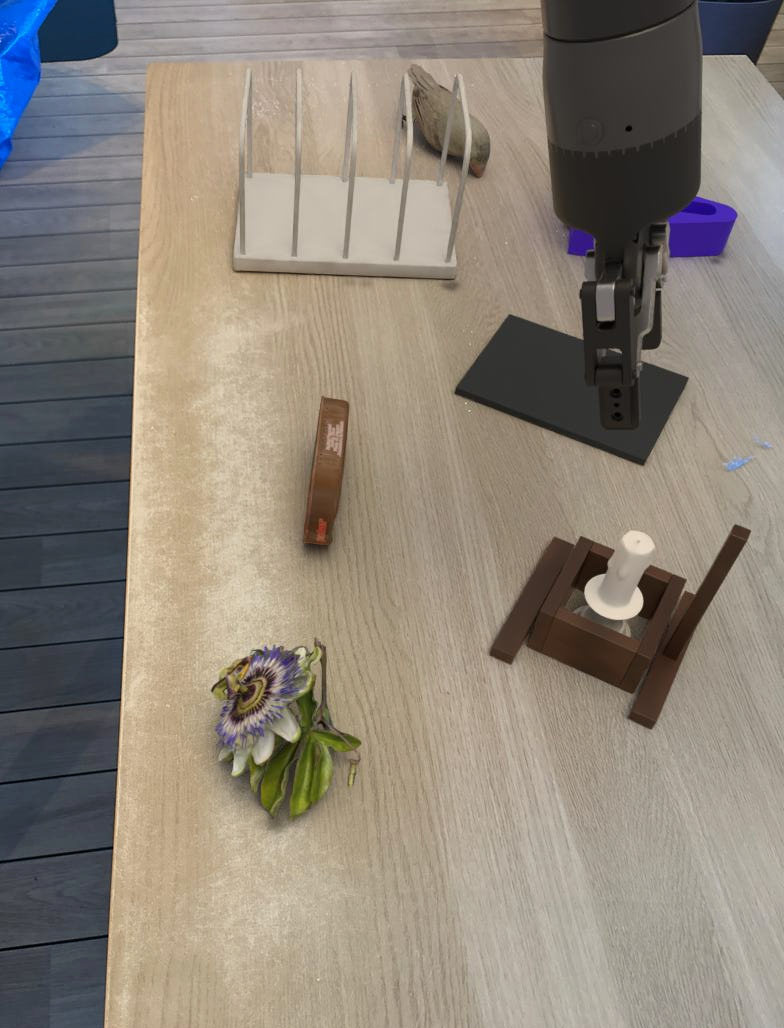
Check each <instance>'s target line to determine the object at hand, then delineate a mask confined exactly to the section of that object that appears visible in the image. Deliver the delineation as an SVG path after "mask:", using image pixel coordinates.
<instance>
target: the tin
mask: <svg viewBox="0 0 784 1028" xmlns="http://www.w3.org/2000/svg"><path fill="white" fill-rule="evenodd" d="M349 417H350V403H349V401H348V400H345V399H339V398H334V397H333V398H332V397H326V396H324V395H321V398H320V403H319V412H318V417H317V426H316V427H317V428H316V433H315V439H314V446H313V451H312V452H313V454H312V459H311V460H312V461H311V470H310V476H309V485H308V495H307V501H306V510H305V517H304V525H303V535H302V543H303V544H314V545H321V546H330V545H332V544H333V541H334V537H333V534H334V533H333V531H334V525H335V521H336V518H337V515H338V513H339V509H340V508H339V506H340V502H341V495H342V486H343V478H344V470H345V461H346V451H347V443H348V433H349V432H348V431H349Z"/></svg>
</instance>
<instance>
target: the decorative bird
mask: <svg viewBox="0 0 784 1028" xmlns="http://www.w3.org/2000/svg"><path fill="white" fill-rule="evenodd" d="M409 66H410V67H409V68H407V70H406V74H408V75H409V79H410V80H411V82H412V83H413V85H414V87H413V89H412V92H411V110H412V118H414V119H413V120H412V122H413V124H414V123H415V121H416V122H417V124H418V127H419V129H420V131H421V132H422V134H423V136H424V137H425V139H426V141H427V142H428V143H429V144H430V145H431V147H432V148H434V149H435V150H436V151H439V152H441V153H442V151H443V144H444V138H445V132H446V126H447V120H448V114H449V107H450V101H451V95H452V90H449V88H446V87H445V86H443V85H441V84H439V83H438V82H437V81H436V80H435V78H434V77H433V76H432V75H431V74H430V73H429V72H427V71H426V70H425V69H424V68H423V67H422V66H421V65H418V64H417V63H412V64H410V65H409ZM469 118H470V124H471V131H472V143H471V155H470V162H469V167H470V168H471V169H472V171H473V172H474V174H475V175H476V177H478V178H481V177H482V176H483V174H484V173H485V170H486V168H487V165H488V162H489V158H490V155H491V137H490V134H489V132H488V130H487V128H486V126H485V125H484V124H483V123H482V122H481V121H480V120H479V119H478V118H476V117H475V116H474V115H472V114H471V113H469ZM404 122H406V115H404V114H403V116H402V124H401V130H403V128H404ZM464 153H465V128H464V122H463V114H462V106H461V100H460V99H459V98H458V97H456V103H455V109H454V115H453V121H452V127H451V133H450V139H449V145H448V151H447V155H450V156H453V157H463V158H464Z"/></svg>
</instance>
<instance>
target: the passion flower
mask: <svg viewBox="0 0 784 1028" xmlns="http://www.w3.org/2000/svg"><path fill="white" fill-rule="evenodd" d="M313 639H314V642H313V645H314V649H313V651H312V652H310V651H309V649H308V646H306V645H299V646H295V647H294V648H292V649H291V650H288V649H286V650H285V646H284V645H279V646H277V645H276V644H273V645H272V649H268V647H267V645H264V646H263V647H264V648H263V649H261V648H255V649H251V650H250V653H249V655H247V656H245V657H242V658H238V659H235V660H234V661H233V662H232V663H230V665H229V666H227V667H223V668H222V669H221V670H220V673H219V676H218V681H217V682H216V683H214V684H213V685H212V687H211V689H210V692H211V694H212V696H213V697H214V698H215V699H216V700H218V701H220V702H222V701H226V702H225V705H224V706H222V708H221V710H222V711H221V713H220V714H219V717H221V718H222V720H221V721H219V723H218V724H217V725H216V726H215V732H216V733H217V735H219V736H220V737H221V739H220V740H219V742H217V744H216V745H215V749H218V748H219V746H220V749H221V750H220V752H219V756H218V761H219V762H221V763H226V764H229V763H232V769H231V770H232V771H231V773H230V775H231V777H233V778H236V777H237V778H238V777H239V776H242V775H244V774H245V773H247V772H250V773H249V776H250V777H249V786H250V788H251V791H252V792H253V793H254V794H257V792H258V787H259V784H260V797H259V799H260V802H261V805H262V808H264V809H265V810H267V811H268V812H269V813H270V815H271V817H273V818H276V817H277V814H278V810H279V809H280V807H281V806H282V804H283V802H284V800H285V798H286V793H287V787H288V782H289V778H290V769H291V767H292V765H293V764H294V762H295V761H296V767H295V769H294V770H295V772H294V775H293V784H292V785H293V786H292V794H291V796H290V797H289V810H288V811H289V817H288V818H289V821H290V822H292V821H294V820H295V819H296V818H298V817H300V816H302V815H305V814H306V813H307V811H309V810H310V809H312V807H314V805H316V804H317V803H318V802H319V801H320V800H321V799H322V797H323V796H324V795H325V794H326V793H327V792H328V791H329V788H330V785H331V782H332V778H333V776H334V767H333V765H334V764H333V760H332V754H331V750H330V748H331V749H332V750H333V751H335V752H341V753H345V752H352V751H354V752H355V754H356V755H357V756H358V759H354V758H349V759H348V762H349V771H348V772H349V773H348V776H347V782H346V783H347V787H348V788H353V786H354V785H355V781H356V775H357V768H358V766H359V764H360V762H361V761H362V755H361V754H360V752H359V751H358V750H357V749H358V748H359V747H360V746H361V745H362V740H360V739H359V738H357V737H356V736H354V735H352V734H349V733H345V732H344V731H343V732H342V731H340V730H339V729H338V728H336V727H334V724H333V721H332V717H331V712H330V709H329V705H328V702H327V701H328V700H327V698H328V694H327V689H328V686H327V662H328V656H327V646H325V644H323V643H322V641H320V640H319V638H318V637H316V636H315V637H313ZM276 646H277V647H276ZM319 661H320V665H321V694H320V695H321V702H320V704H319V702H318V701H317V700H316V698H315V694H314V691H315V686H316V682H317V681H316V680H317V674H315V673H314V671H313V670H312V669H311V666H316V665H317V664H318V662H319ZM225 691H226V692H225ZM294 702H295V703H296V706H297V708H298V711H299V714H298V715H296V714H295V713H294V711H293V709H292V708H290V705H291V704H292V703H294ZM318 704H319V705H318ZM318 725H321V726H322V728H323V729H322V728H319V727H318ZM285 741H286V742H285ZM284 742H285V743H284ZM283 743H284V744H283ZM282 744H283V745H282ZM280 745H282V746H281V747H279V746H280ZM278 747H279V749H278ZM277 749H278V750H277ZM276 750H277V751H276ZM260 781H261V782H260Z"/></svg>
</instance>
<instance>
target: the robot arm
mask: <svg viewBox="0 0 784 1028" xmlns="http://www.w3.org/2000/svg"><path fill="white" fill-rule="evenodd" d="M539 3H540V10H541V11H540V12H541V23H542V29H543V31H542V38H543V46H542V47H543V48H542V49H543V52H542V54H543V55H542V79H541V80H542V93H543V105H544V106H543V107H544V116H545V126H546V140H547V150H548V151H547V153H548V162H549V164H548V165H549V173H550V174H549V175H550V184H551V185H550V186H551V195H552V196H551V197H552V207H553V211H554V214H555V216H556V217H557V219H558V220H559V221H560V222H561V223H562V224H564V225H565V226H567V227H569V229H570V228H573V229H575V230H581V231H583V232H586V233H588V234H589V235H591V236H592V237H594V249H595V250H587V252H586V256H585V259H584V260H585V261H584V263H585V264H584V278H585V281H582V283H581V287H580V289H579V293H578V297H579V300H580V306H581V324H582V340H583V341H584V358H585V374H584V379H585V380H586V385H587V387H598V392H599V407H600V422H601V426H602V427H603V428H604V429H606V430H634V429H636V428H638V426H639V423H640V419H641V396H640V371H642V361H643V360H642V352H643V351H651V350H656V349H658V348H659V347H660V346H661V343H662V339H663V318H662V317H663V310H662V308H663V307H662V306H663V305H662V290H661V289H664V286H665V283H666V282H667V273H668V271H669V262H670V258H671V257H670V249H669V234H670V226H669V222H668V219H669V218H671V217H672V216H674V215H676V214H678V213H679V212H681V211H682V210H683V209H684V208H686V207H687V206H688V205H689V204H690V203H691V202H692V201H693V200H694V198H695V197H696V196H698V193H699V191H700V187H701V183H702V136H703V135H702V134H703V133H702V131H703V127H702V126H703V125H702V124H703V122H702V121H703V118H702V117H703V68H704V67H703V61H704V59H703V58H704V56H703V52H704V51H703V40H702V39H703V38H702V29H701V22H700V14H699V0H539ZM659 289H660V290H659ZM606 349H610V350H613V349H614V350H615V349H617V350H618V351H620V353H621V354H622V355H619V356H605V355H606Z"/></svg>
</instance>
